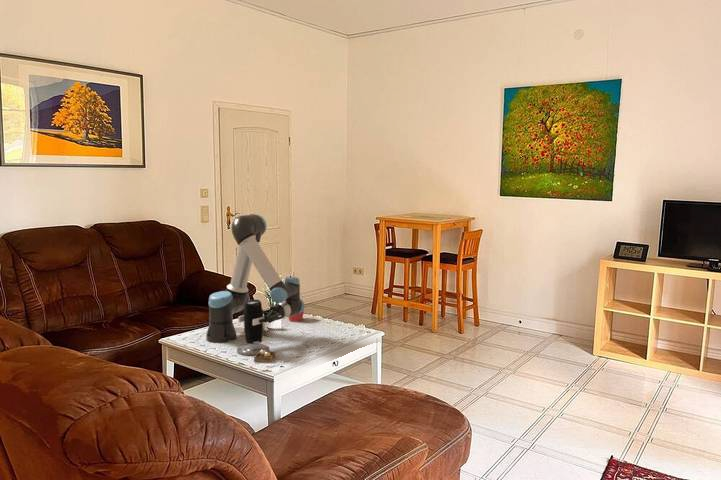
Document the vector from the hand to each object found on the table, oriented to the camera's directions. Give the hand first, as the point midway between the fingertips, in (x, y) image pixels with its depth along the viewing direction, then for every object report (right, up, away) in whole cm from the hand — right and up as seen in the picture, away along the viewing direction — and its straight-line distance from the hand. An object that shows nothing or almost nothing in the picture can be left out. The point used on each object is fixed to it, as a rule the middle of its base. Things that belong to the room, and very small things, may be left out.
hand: (245, 321), depth 259 cm
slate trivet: (+2, -15, +6) cm, 16 cm away
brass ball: (+11, -14, -8) cm, 20 cm away
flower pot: (+16, -9, +62) cm, 65 cm away
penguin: (0, -11, +43) cm, 45 cm away
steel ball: (+9, -14, -5) cm, 17 cm away
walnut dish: (+10, -17, -6) cm, 20 cm away
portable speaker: (+3, -11, +5) cm, 12 cm away
